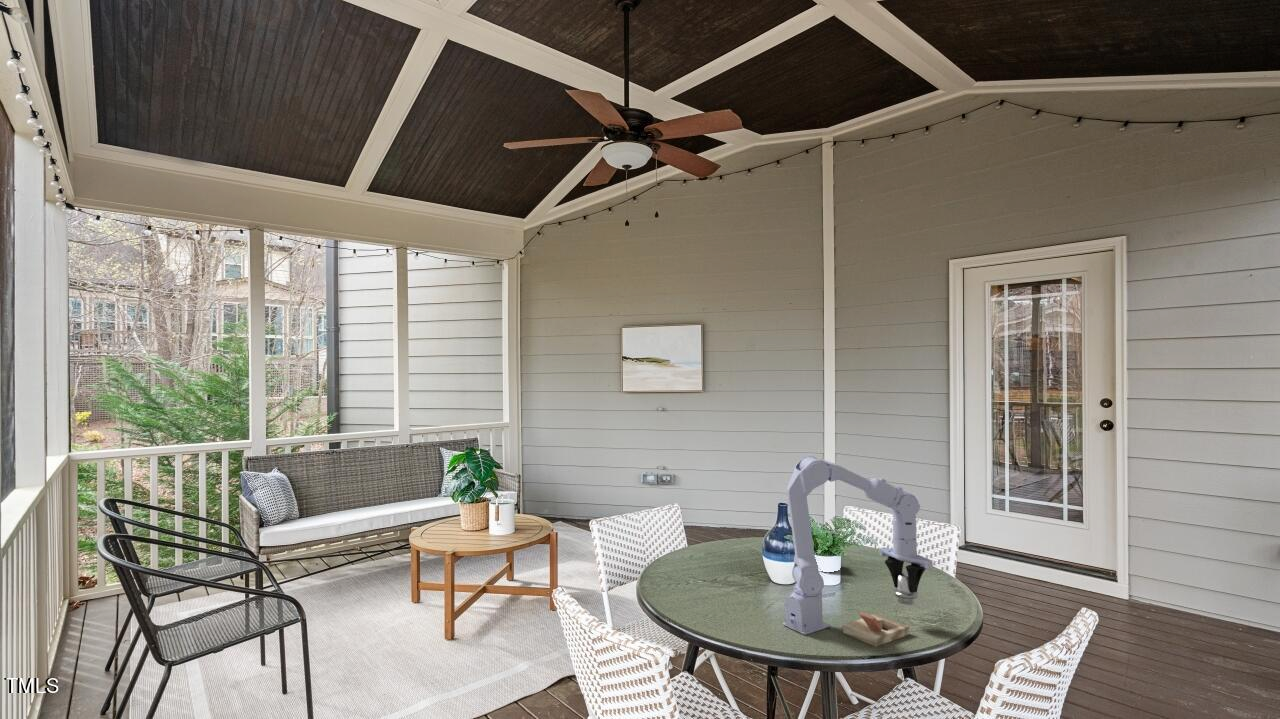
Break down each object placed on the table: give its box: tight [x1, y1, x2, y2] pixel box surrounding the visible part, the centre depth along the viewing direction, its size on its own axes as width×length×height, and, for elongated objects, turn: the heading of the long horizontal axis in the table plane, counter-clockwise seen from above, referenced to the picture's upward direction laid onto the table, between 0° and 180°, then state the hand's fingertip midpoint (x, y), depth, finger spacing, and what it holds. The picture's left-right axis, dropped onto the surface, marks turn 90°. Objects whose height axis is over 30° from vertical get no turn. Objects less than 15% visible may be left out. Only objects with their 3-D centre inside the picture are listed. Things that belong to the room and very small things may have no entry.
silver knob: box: [893, 572, 919, 606], centre depth 166 cm, size 6×6×7 cm
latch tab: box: [859, 611, 883, 631], centre depth 159 cm, size 4×4×1 cm
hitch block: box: [842, 613, 910, 648], centre depth 161 cm, size 13×10×2 cm
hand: (905, 589), depth 166 cm, fingers closed on silver knob, 4 cm apart
